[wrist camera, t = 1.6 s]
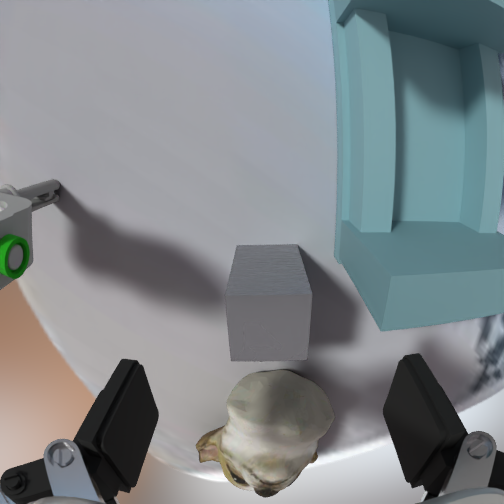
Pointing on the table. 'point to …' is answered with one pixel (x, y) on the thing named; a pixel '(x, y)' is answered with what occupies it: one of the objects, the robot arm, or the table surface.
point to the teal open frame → (420, 157)
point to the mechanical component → (20, 226)
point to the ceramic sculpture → (269, 431)
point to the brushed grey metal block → (268, 304)
